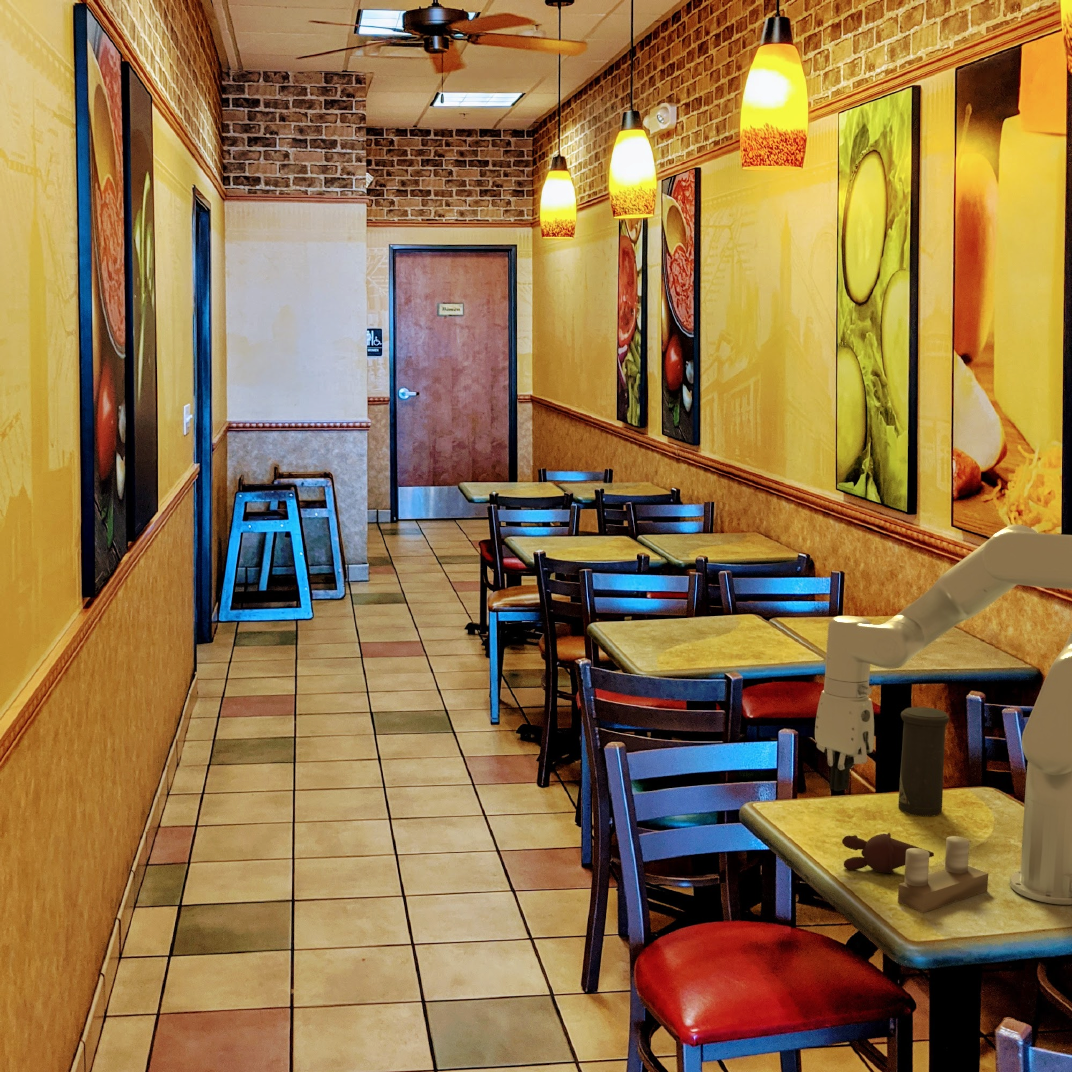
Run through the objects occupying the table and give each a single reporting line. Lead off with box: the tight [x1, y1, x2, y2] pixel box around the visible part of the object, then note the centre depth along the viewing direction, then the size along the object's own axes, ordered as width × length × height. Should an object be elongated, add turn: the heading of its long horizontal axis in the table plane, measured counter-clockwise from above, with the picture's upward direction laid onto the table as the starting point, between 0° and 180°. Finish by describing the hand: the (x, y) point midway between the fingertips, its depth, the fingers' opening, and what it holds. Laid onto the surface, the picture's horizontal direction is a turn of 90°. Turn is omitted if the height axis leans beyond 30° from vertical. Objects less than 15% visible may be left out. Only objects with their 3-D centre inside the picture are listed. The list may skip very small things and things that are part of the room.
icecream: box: [841, 832, 935, 875], centre depth 221 cm, size 7×7×15 cm
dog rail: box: [897, 835, 989, 914], centre depth 211 cm, size 6×16×8 cm, turn 124°
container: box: [897, 706, 950, 817], centre depth 252 cm, size 9×9×20 cm
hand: (838, 788), depth 229 cm, fingers closed
